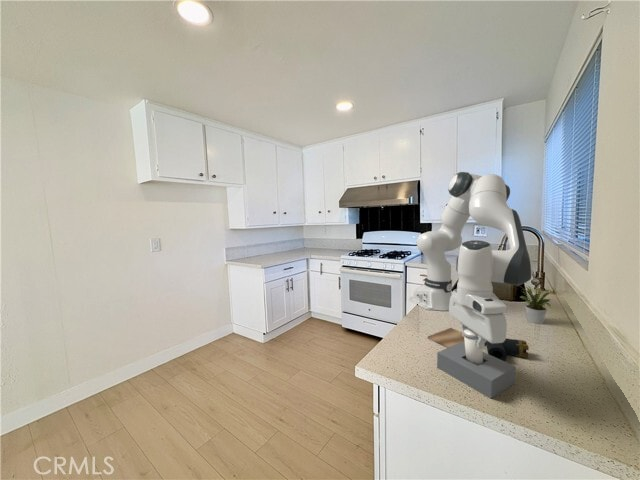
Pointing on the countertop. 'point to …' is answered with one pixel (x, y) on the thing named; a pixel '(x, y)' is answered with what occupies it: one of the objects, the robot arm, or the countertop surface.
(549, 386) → the countertop surface
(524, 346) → the pipe connector
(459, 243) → the robot arm
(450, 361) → the socket block
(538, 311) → the house plant
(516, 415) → the countertop surface
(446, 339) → the pad
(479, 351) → the plug
